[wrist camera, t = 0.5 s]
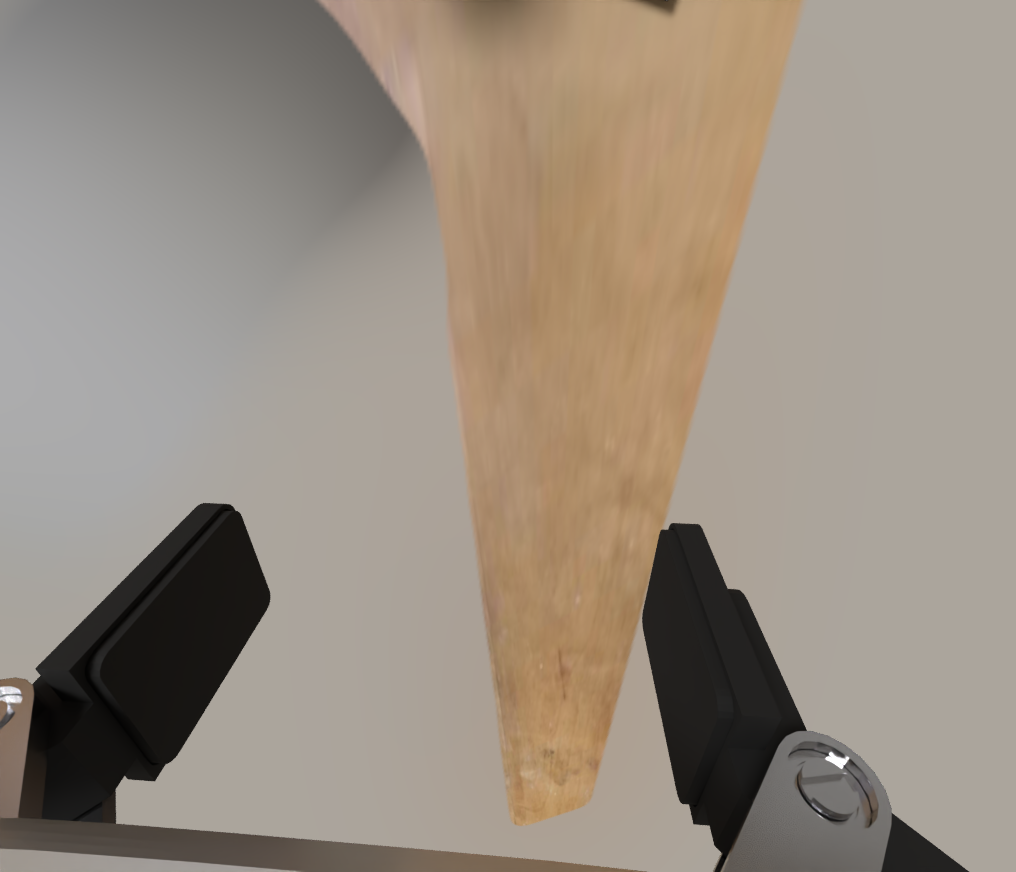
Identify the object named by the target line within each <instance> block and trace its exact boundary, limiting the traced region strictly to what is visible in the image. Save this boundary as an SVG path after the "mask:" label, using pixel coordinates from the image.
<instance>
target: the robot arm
mask: <svg viewBox="0 0 1016 872" xmlns="http://www.w3.org/2000/svg"><path fill="white" fill-rule="evenodd" d="M269 603H270V591H269V588H268V585H267V583H266V580H265V577H264V575H263V572H262V570H261V567H260V564H259V561H258V559H257V556H256V553H255V551H254V548H253V545H252V543H251V540H250V537H249V535H248V532H247V529H246V526H245V524H244V521H243V518H242V516H241V514H240V513H239V512H238V511H235V509H234V507H233V506H231V505H229V504H213V503H203V504H200V505H198V506H197V507H196V508H195V509H194V510H193V511H192V512H191V513H190V514H189V515H188V516H187V517H186V518H185V519H184V520H183V521H182V522H181V523H180V524H179V525H178V526H177V527H176V528H175V529H174V530H173V531H172V532H171V533H170V534H169V535H168V536H167V537H166V538H165V539H164V540H163V541H162V542H161V543H160V544H159V545H158V546H157V547H156V548H155V549H154V550H153V551H152V552H151V553H150V554H149V555H148V556H147V557H146V558H145V559H144V560H143V561H142V562H141V563H140V564H139V565H138V566H137V567H136V568H135V569H134V570H133V571H132V572H131V573H130V574H129V575H128V576H127V577H126V578H125V579H124V580H123V581H122V582H121V583H120V584H119V585H118V586H117V587H116V588H115V589H114V590H113V591H112V592H111V593H110V594H109V595H108V596H107V597H106V598H105V599H104V600H103V601H102V602H101V603H100V604H99V605H98V606H97V607H96V608H95V609H94V610H93V611H92V612H91V613H90V614H89V615H88V616H87V617H86V619H84V620H83V621H82V622H81V623H80V624H79V625H78V626H77V627H76V628H75V629H74V631H72V632H71V633H70V634H69V635H68V636H67V637H66V638H65V640H63V641H62V642H61V643H60V644H59V645H58V646H57V647H56V649H54V650H53V651H52V652H51V654H49V655H48V656H47V657H46V659H45V660H44V661H42V662H41V663H40V664H39V665H38V667H37V668H36V670H37V671H38V673H39V674H40V675H41V676H40V677H39V678H38V679H37V680H36V681H35V682H34V683H33V684H31V683H30V682H29V681H28V680H26V679H21V678H9V679H1V680H0V872H645V871H636V870H627V869H617V868H609V867H600V866H590V865H581V864H573V863H563V862H555V861H545V860H534V859H523V858H511V857H500V856H490V855H478V854H467V853H456V852H446V851H435V850H424V849H413V848H401V847H389V846H378V845H367V844H354V843H343V842H332V841H319V840H307V839H296V838H285V837H273V836H261V835H249V834H238V833H225V832H213V831H200V830H187V829H175V828H161V827H150V826H138V825H125V824H116V792H115V791H116V788H117V786H118V785H119V783H120V782H121V780H122V779H123V777H124V776H126V778H127V779H132V780H144V781H155V780H156V779H157V777H158V775H159V774H160V772H161V771H162V769H163V767H164V766H165V764H168V763H169V762H171V761H172V760H173V759H174V758H175V757H176V756H177V755H178V753H179V752H180V750H181V749H182V747H183V745H184V744H185V742H186V740H187V739H188V737H189V736H190V734H191V732H192V731H193V729H194V727H195V726H196V724H197V722H198V721H199V719H200V718H201V716H202V714H203V713H204V711H205V709H206V708H207V706H208V705H209V703H210V701H211V699H212V698H213V696H214V695H215V693H216V692H217V690H218V688H219V687H220V685H221V683H222V682H223V680H224V679H225V677H226V675H227V674H228V672H229V670H230V669H231V667H232V665H233V664H234V662H235V661H236V659H237V657H238V656H239V654H240V652H241V651H242V649H243V648H244V646H245V644H246V642H247V641H248V639H249V638H250V636H251V634H252V633H253V631H254V630H255V628H256V626H257V625H258V623H259V622H260V620H261V618H262V617H263V615H264V613H265V612H266V610H267V608H268V606H269ZM642 623H643V631H644V636H645V641H646V646H647V651H648V655H649V660H650V665H651V670H652V675H653V680H654V684H655V689H656V694H657V699H658V704H659V709H660V713H661V718H662V722H663V727H664V732H665V737H666V742H667V747H668V752H669V757H670V762H671V766H672V771H673V776H674V781H675V786H676V790H677V794H678V797H679V800H680V802H681V803H682V804H689V806H690V810H691V815H692V820H693V824H698V825H710V829H711V833H712V837H713V841H714V845H715V847H716V848H717V849H718V850H719V851H720V852H721V855H720V857H719V859H718V861H717V863H716V866H715V868H714V870H713V872H969V871H967V870H966V869H965V868H963V867H962V866H961V865H960V864H958V863H957V862H956V861H954V860H953V859H951V858H950V857H949V856H948V855H946V854H945V853H944V852H942V851H941V850H940V849H938V848H937V847H936V846H935V845H933V844H932V843H931V842H929V841H928V840H927V839H925V838H924V837H923V836H921V835H920V834H919V833H917V832H916V831H915V830H913V829H912V828H911V827H909V826H908V825H907V824H906V823H904V822H903V821H902V820H900V819H899V818H898V817H896V816H895V815H894V814H892V812H891V805H890V802H889V799H888V796H887V793H886V790H885V789H884V787H883V785H882V784H881V782H880V781H879V779H878V777H877V776H876V774H875V772H874V771H873V770H872V769H871V768H870V767H869V766H868V765H867V764H866V763H865V761H864V760H863V759H862V758H861V757H860V756H858V755H857V754H856V753H855V752H853V751H852V750H851V749H850V748H848V747H847V746H846V745H844V744H843V743H841V742H839V741H837V740H835V739H833V738H831V737H829V736H827V735H824V734H820V733H817V732H813V731H807V730H806V727H805V725H804V723H803V721H802V719H801V717H800V714H799V712H798V710H797V708H796V706H795V704H794V701H793V699H792V697H791V695H790V693H789V690H788V688H787V686H786V684H785V681H784V679H783V677H782V675H781V673H780V670H779V668H778V666H777V664H776V662H775V659H774V657H773V655H772V653H771V651H770V649H769V646H768V644H767V642H766V640H765V638H764V636H763V633H762V631H761V629H760V627H759V625H758V622H757V620H756V618H755V616H754V613H753V611H752V609H751V607H750V605H749V602H748V600H747V599H746V597H745V595H744V594H743V593H742V592H741V591H740V590H736V589H727V586H726V584H725V582H724V579H723V577H722V575H721V572H720V570H719V567H718V565H717V563H716V560H715V558H714V556H713V553H712V551H711V549H710V546H709V544H708V541H707V539H706V537H705V534H704V532H703V529H702V528H701V526H700V525H698V524H680V523H679V524H678V523H672V524H671V525H670V526H669V529H668V530H661V531H660V534H659V539H658V544H657V548H656V553H655V558H654V562H653V567H652V572H651V576H650V581H649V586H648V590H647V595H646V600H645V604H644V609H643V616H642Z"/></svg>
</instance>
